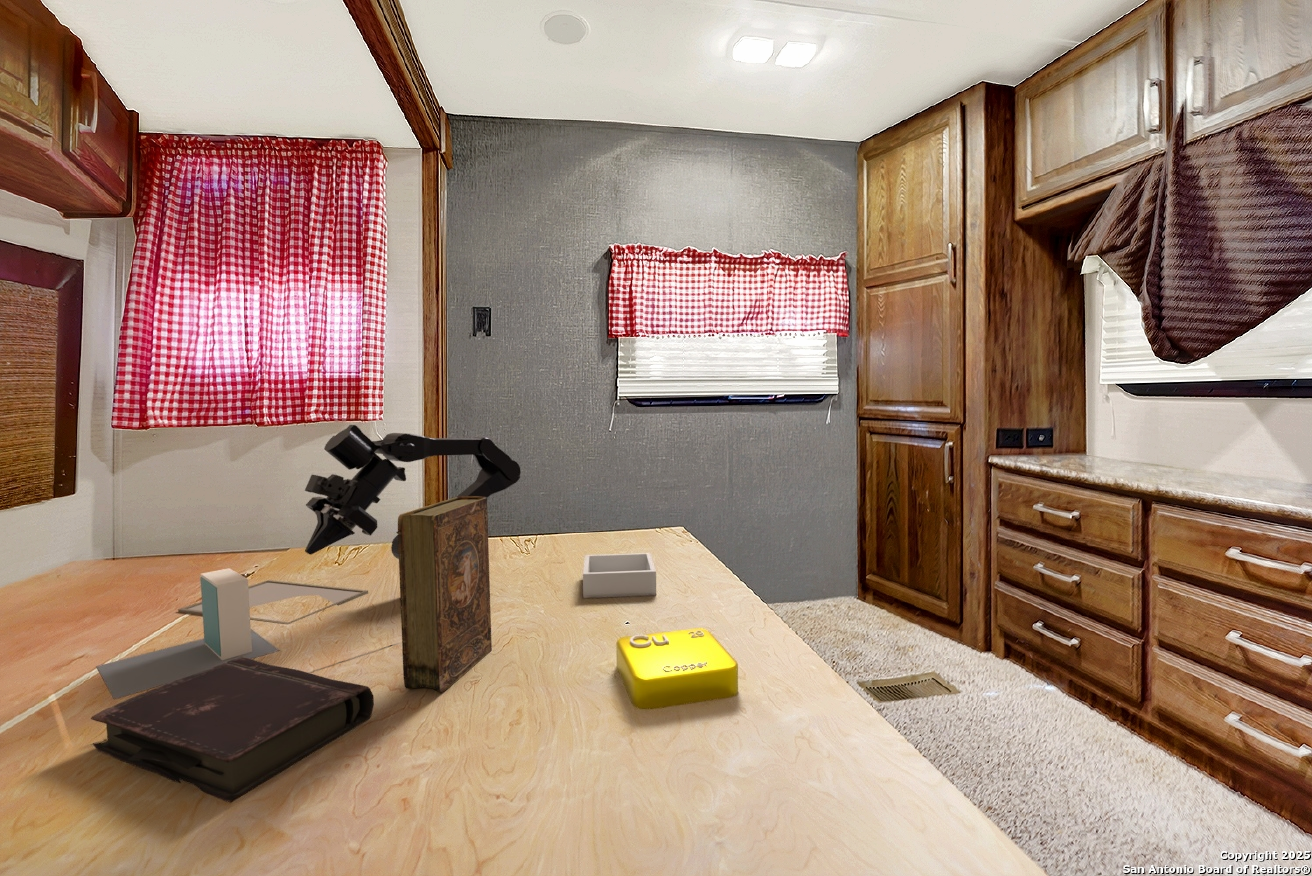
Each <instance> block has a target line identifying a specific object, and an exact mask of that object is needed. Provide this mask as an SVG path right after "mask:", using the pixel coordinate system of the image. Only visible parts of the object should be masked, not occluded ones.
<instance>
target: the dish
mask: <svg viewBox="0 0 1312 876" xmlns="http://www.w3.org/2000/svg"><path fill="white" fill-rule="evenodd" d="M583 563H584V564H583V570H582V598H583V599H595V598H619V597H643V596H645V597H646V596H647V597H648V596H657V570H656V566H655V564H654V560H653V557H652V553H651V552H637V553H635V552H634V553H633V552H632V553H611V554H609V553H608V554H605V553H603V554H585V555H584V561H583Z"/></svg>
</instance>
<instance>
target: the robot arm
mask: <svg viewBox="0 0 1312 876" xmlns="http://www.w3.org/2000/svg"><path fill="white" fill-rule="evenodd" d="M324 450H325V452H327V453H328V454H329V455H330V456H331V457H333V459H335V460H337V461H338V462H339V463H340V464H341V465H342V466H343V467H344V468H346V469H347V470H350V471H351V470H353V469H356V470H358V471H357V473H356V474H355V475H354V476H353V477H352V478H351V479H349V478H347V479H345V478H344V477H343V476H342V475H337V474H333V473H332V474H331V475H329V476H328V477H325V476H321V475H318V474H311V475H310V477H309V480H308V482H307V485H306V486H305V488H304V491H305V492H308V493H313V494H317V495H320V496H314V497H311V499H310V500H309V501H308V502H307V503H306V504H305V507H307V508H308V509H309V510H311V511H312V512H314V514H315V515H316V520H317V524H316V526H315V528H314V531H313V532H312V534H311V536H310V539H309V541H308V543H307V546H306V547H305V550H304V552H305V553H306V554H308V555H310V556H311V555H314V554H315V553H317V552H319V551H321V550H323V549H325V548H327V547H329V546H331V545H333V544H335V543H337V542H339V541H341V540H344V539H345V538H347V537H349V536H352V535H355V533H356V532H355V531H354V528H355V527H356V526H357V527H358V528H359V529H361V533H362V534H364V535H367V536H372V535H373V534H374V532H376V530H377V529H378V520H377V518H374V517H373V516H372V515H371V514H370V513H368V512H367V510H368V509H369V508H370V506H371V505H372V504H378V503H379V502H380V501H381V498H380V497H379V496H380V494H381V493H382V492H383V491H384V490H385V489H386V488H387V486H388V485H389V484H390V483H391V482H392V481H393V479H394V480H395V481H399V482H406V480H407V475H406V468H405V467H401V466H397V465H396V464H394V463H393V462H402V463H411V462H416V461H420V460H421V461H422V460H425V459H427V458H430V457H435V456H438V457H439V456H472V455H473V457H474V458H475V461H476V463H477V466H479V467H480V471H479V473H478V475H477V478H476V480H475V481H474V482H472V483H471V484H470V485H469V486H467V488H465V489H464V490H463V491H462V492H460V493H459V494H458V495H457V496H456V497H464V496H480V497H487V499H488V498H490V497H491V496H492V495H495V494H497V493H500V492H503V491H505V490H507V489H509V488H511V487H512V486H513V485H515V484H517V483H518V482H519V481H520V480H521V479H520V478H521V471H522V470H521V467H520V465H519V463H518V462H517V461H515V460H513V459H512V458H511V457H510V456H509V455H508V453H506V452H504V451H503V450H502V449H500V448H499V447H498V446H497V445H496V443H494V442H493V441H492V440H491V439H490V438H488V437H482V436H480V437H479V436H476V437H468V438H467V437H466V438H465V437H461V438H460V437H458V438H457V437H453V438H452V437H441V438H440V437H439V438H438V437H437V438H435V437H434V438H433V437H429V436H424V435H417V434H413V433H404V432H402V433H401V432H392V433H391V432H390V433H388V434H385V436H384V437H383V438H382V439H379V440H372V439H370V438H369V437H368V436H367V435H366V434H365V433H364V432H362V430H361V428H359V426H357V425H356V424H349V425H348V426H347V427H346V428H345V429H343V430H341V431H339V432H338V433H337V434H336V435H333V436H331V438H330V439H328V441H327V442H326V443H325V446H324ZM379 455H382V456H384V458H383V459H382V457H380V456H379ZM392 461H393V462H392ZM322 496H325V497H322ZM396 534H397V535H395V537H394V538H393V539H392V541H391V550H390V551H391V553H392V556H393V557H395V559H397V560H399V549H398V531H396Z"/></svg>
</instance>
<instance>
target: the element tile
mask: <svg viewBox="0 0 1312 876" xmlns="http://www.w3.org/2000/svg"><path fill="white" fill-rule="evenodd" d="M615 647H616V648H615V649H616V651H615V652H616V653H615V654H616V669H617V672H618V674H619V677H620V679H621V681H622V683H623V685H624V688H625V690H626V693H627V695H628V697H629V699H630V702H631V704H632V706H634V707H635V708H637V709H640V710H654V709H657V710H658V709H661V708H669V707H677V706H682V705H689V704H696V703H703V702H711V701H716V700H724V699H729V698H732V697H735V696H737V695H738V693H739V664H738V662H737V660H735V658H734V657H733V656H732V655H731V653H730V652H728V651H727V649H726V648H725V647H724V646H723V645H722V644H721V643H720V642H719V640H718V639H717V637H715V636H714V634H712V633H711V631H710V630H707V629H705V628H702V627H701V628H699V627H698V628H689V629H680V630H672V631H663V632H655V633H647V634H646V633H645V634H636V635H628V636H622V637H619V638H618V639H617V641H616V643H615Z"/></svg>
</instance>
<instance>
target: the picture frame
mask: <svg viewBox="0 0 1312 876" xmlns="http://www.w3.org/2000/svg"><path fill="white" fill-rule="evenodd" d="M248 591H249V608H253V607H258V606H262V605H266V604H271V603H276V602H279V601H283V600H287V599H292V598H295V597H305V596H307V597H309V596H319V597H320V598H323V599H325V600H327V601H328V602H331V603H332V604H329V605H327V606H325V607H323V608H321V609H317V610H315V611H313V612H310V613H308V614H305V615H303V616H301V617H298V618H296V619H293V620H291V621H289V622H288V621H282V620H281V621H280V620H275V619H274V620H273V619H266V618H260V617H259V618H258V617H251V616H250V621H251V620H252V621H253V620H254V621H258V622H259V621H260V622H266V623H267V622H268V623H275V624H282V625H283V624H284V625H290V624H292V623H294V622H297V621H299V620H302V619H305V618H306V617H309V616H311V615H314V614H316V613H319V612H322V611H324V610H326V609H328V608H331V607H333V606H336V605H337V606H341V605H344V604H346V603H348V602H351V601H353V600H355V599H358V598H361V597H363V596H365V595H367V594H369V590H366V589H365V590H364V589H358V588H357V589H356V588H346V587H337V586H330V585H329V586H328V585H318V584H311V583H310V584H308V583H301V582H289V581H282V580H272V579H268V580H264V581H261V582H258V583H255V584H251V585H248ZM177 612H178V613H182V614H191V615H196V616H197V615H198V616H203V611H202V601H199V602H197V603H194V604H193V603H192V604H190V605H187V606H184V607H181V608H178V609H177Z"/></svg>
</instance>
